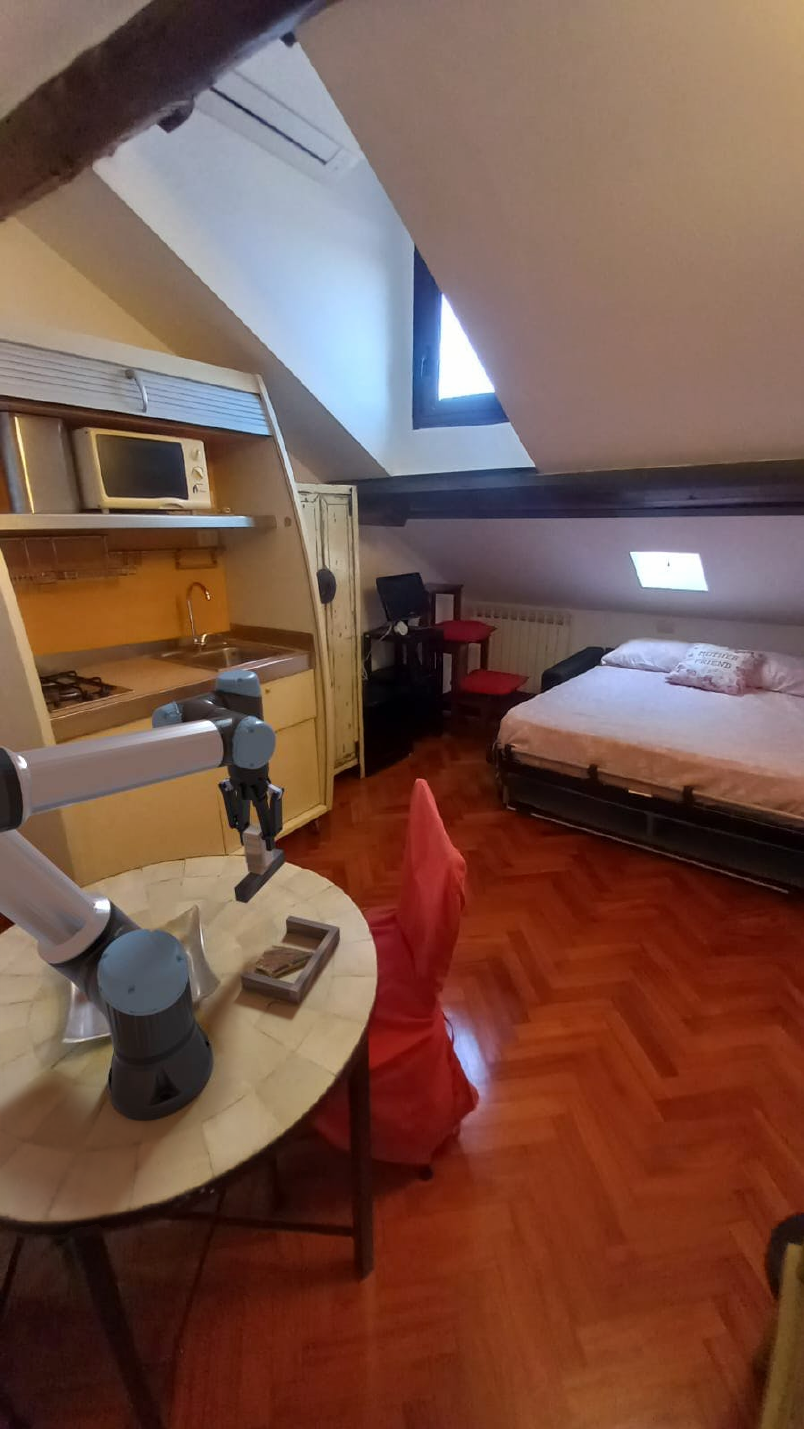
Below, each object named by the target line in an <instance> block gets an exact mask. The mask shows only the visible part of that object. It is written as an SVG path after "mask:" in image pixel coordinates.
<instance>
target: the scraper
mask: <svg viewBox="0 0 804 1429" xmlns="http://www.w3.org/2000/svg"><path fill="white" fill-rule="evenodd" d="M243 835H244V843H245V851H246V858H247V863H246V864H247V871H248V873H247V874H246V875H245V876H244V877H243V878H242V879H241V881H239V882H238V883H237V884H236V886H234V887H233V889H234V895H235V901H236V902H239V903H240V902H241V903H244V904H248V903H249V901H251V900H252V899H253V897H254V896H255V895H257V893H258V892H259V891H260V890H261V889H262V888H263V886H265V885H266V883H268V882H269V881H270V879H272V877H273V876H274V875H275V874H276V873H277V872H278V871H279V870H280V869H281V868H282V867H283V865H285V863H286V862H285V851H284V849H277V848H274V849H273V857H274V860H273V861H272V862H271V863H270V864H269V865H268V866H267V867H263V861H262V852H261V844H260V837H261V836H262V835H263V834H262V830H261V827H260V823H256V822H255V823H254V822H253V823H252V824H251V825H250V826H249V827H248V828H247V829H246V830H245V831H244V832H243ZM245 851H244V852H245ZM246 858H245V859H246Z"/></svg>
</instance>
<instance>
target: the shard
mask: <svg viewBox="0 0 804 1429" xmlns="http://www.w3.org/2000/svg"><path fill="white" fill-rule="evenodd" d="M314 953H315V951H306V950H304V949H303V950H302V949H298V948H293V947H288V946H282V945H273V944H271V945H270V946H268V947H267V948H266V949H265V950H264V952H263V953H262V954H261V956H260V957H259V959H258V960H257V961H256V962H255V964H254V969H255V970H256V969H257V970H260V971H261V970H262V971H264V972H265V974H267V975H268V977H271V978H275V979H276V977H277V976H280V975H281V974H283V973H285V972H288V971H290V970H294V969H296V968H300V967H302V966H304V965H307V963H308V962H309V960H310V959H311V957H312V956H313V954H314Z"/></svg>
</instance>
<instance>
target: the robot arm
mask: <svg viewBox="0 0 804 1429" xmlns="http://www.w3.org/2000/svg"><path fill="white" fill-rule="evenodd" d="M214 687H215V689H213V690H210V691H208V692H205V693H201V694H198V695H195V696H191V697H188V698H185V699H181V700H178V701H172V702H171V703H168V704H165V705H163V706H160V707H158V708H156V709H155V710H154V712H153V713H152V716H151V727H152V728H147V729H143V730H135V731H131V732H126V733H119V734H114V735H108V736H102V737H95V738H92V739H85V740H79V741H73V742H67V743H63V744H57V745H52V746H46V747H40V748H34V749H29V750H22V751H17V752H15V751H12V750H11V749H9V748H7V747H5V746H3V745H0V913H1V914H2V915H3V916H5V917H6V918H7V919H9V920H10V921H12V922H13V923H14V924H16V926H18V927H19V928H20V929H21V930H24V931H25V932H26V933H27V934H28V935H30V936H31V937H32V938H34V939H35V940H37V945H36V946H37V953H38V956H39V957H40V959H42V960H43V961H44V962H45V963H47V964H48V965H49V966H51V967H52V968H53V969H55V970H56V971H58V972H59V974H61V975H63V976H64V977H65V978H67V979H68V980H69V981H70V982H72V983H73V984H74V986H76V987H77V989H79V991H81V992H82V993H83V994H84V996H86V998H87V999H88V1000H89V1002H91V1003H92V1004H93V1006H95V1008H97V1009H98V1010H99V1012H100V1013H101V1014H102V1015H103V1016H104V1018H105V1020H106V1022H107V1024H108V1030H109V1034H110V1037H111V1038H110V1039H111V1043H112V1048H113V1052H112V1056H111V1062H110V1068H109V1071H108V1075H107V1076H108V1077H107V1091H108V1093H109V1097H110V1102H111V1105H112V1106H113V1108H114V1109H115V1110H116V1112H118V1113H119V1114H120V1115H121V1116H123V1117H125V1118H128V1119H131V1120H135V1121H151V1120H156V1119H161V1118H164V1117H167V1116H169V1115H171V1114H174V1113H175V1112H177V1111H179V1110H181V1109H182V1108H184V1107H185V1106H187V1105H188V1104H189V1103H191V1102H192V1101H193V1100H194V1099H195V1098H196V1097H197V1096H198V1095H199V1094H200V1093H201V1092H202V1090H203V1089H204V1088H205V1086H206V1084H207V1083H208V1081H209V1079H210V1076H211V1074H212V1071H213V1065H214V1057H213V1056H214V1055H213V1048H212V1045H211V1041H210V1039H209V1037H208V1036H207V1033H205V1031H204V1029H203V1028H202V1027H201V1025H200V1024H199V1023H198V1021H197V1020H196V1016H195V1008H194V1003H193V995H192V993H193V992H192V989H191V988H192V987H191V981H190V968H189V967H190V966H189V960H188V958H187V956H186V953H185V950H184V947H183V945H182V943H181V942H180V940H179V939H178V938H177V937H176V936H175V935H173V934H172V933H170V932H169V931H166V930H163V929H158V928H155V929H153V931H151V929H150V928H142V927H140V926H139V925H138V924H137V923H136V922H135V921H133V920H132V919H131V918H130V917H129V916H128V915H127V914H126V913H125V912H124V911H123V910H122V909H120V908H119V907H118V906H117V905H116V904H115V903H114V902H112V901H111V900H110V899H109V897H107V896H106V895H104V894H102V893H100V892H88V893H87V892H85V891H84V890H83V889H82V888H81V887H80V886H79V885H77V883H75V881H73V880H72V879H71V877H69V876H67V875H66V874H65V873H64V872H63V871H62V870H61V869H60V868H59V867H58V866H56V865H55V864H54V863H53V862H52V861H51V860H50V859H48V857H47V856H45V855H44V854H43V853H42V852H41V851H40V850H39V849H37V848H36V847H35V846H34V845H33V844H32V843H31V842H30V841H29V840H27V838H25V836H23V835H22V834H21V833H20V832H19V831H18V830H16V829H20V828H22V827H23V825H24V824H25V822H26V821H27V820H28V818H29V817H31V816H36V815H39V814H43V813H46V812H50V811H54V810H58V809H62V808H66V807H69V806H74V805H78V804H82V803H85V802H89V801H90V802H91V801H93V800H97V799H103V798H105V797H109V796H113V795H117V794H122V793H125V792H129V791H133V790H136V789H141V788H145V787H148V786H149V787H150V786H152V785H157V784H160V783H164V782H168V781H171V780H175V779H180V778H184V777H188V776H191V775H195V774H200V773H203V772H207V771H211V770H215V769H219V768H223V767H224V768H225V767H226V768H227V774H228V776H229V777H226V778H224V780H223V779H222V781H220V782H219V783H218V784H217V786H218V788H219V790H220V793H221V795H222V798H223V803H224V807H225V813H226V817H227V822H228V827H229V828H230V829H232V830H233V829H234V830H235V829H236V830H237V832H238V833H239V834H238V835H239V840H240V845H241V846H242V847H243V850H244V857H245V863H246V864H247V858H246V851H245V843H244V835H243V832H244V831H245V830H246V829H247V828H249V827H250V826H251V825H252V824H253V823H251V804H252V807H253V808H255V811H256V815H257V819H258V822H259V823H258V824H260V827H261V830H262V834H263V835H262V836H261V837H260V844H261V852H262V861H263V867H267V866H268V865H269V864H270V863H271V862H272V861H273V860H274V857H273V849H276V841H275V837H277V836H278V835H279V834H280V833H281V832H282V831H283V830H284V828H283V826H284V825H283V796H284V793H285V788H284V787H283V786H279V787H277V786H275V785H274V784H272V780H271V779H270V776H269V772H270V764H269V763H270V762H269V761H270V760H271V759H272V757H273V755H274V753H275V750H276V748H277V747H276V743H277V741H276V740H277V737H276V736H277V735H276V733H275V731H274V730H275V729H273V727H272V725H270V724H268V723H267V722H265V719H264V707H263V706H264V705H263V693H262V689H261V682H260V680H259V676H258V674H257V673H256V672H253V671H250V670H247V669H234V670H228V671H224V672H222V673H220V674H219V675H217V676H216V677H215V686H214ZM268 800H269V802H268Z"/></svg>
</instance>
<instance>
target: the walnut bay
mask: <svg viewBox="0 0 804 1429" xmlns="http://www.w3.org/2000/svg"><path fill="white" fill-rule="evenodd" d="M285 927H286V932H287V933H290V934H295V935H297V936H303V937H307V938H311V939H315V940H319V941H321V943H320V944H319V945H318V947H317V948H316V950H315V951H314V954H313V956H312V957H311V959H310V960H309V962H308V963H307V964H305V966H304V968H303V969H302V971H301V972H300V973H299V975H298V976H297V978H296V979H295V981H294V982H289V981H286V980H282V979H279V978H276V977H275V978H271V977H270V976H269V975H268V976H267V975H264V974H260V973H256V972H253V971H248V970H244V971H243V973H242V974H241V975H240V981H241V982H240V983H241V990H244V991H246V992H247V991H248V992H251V993H255V994H258V995H262V996H265V997H269V998H272V999H276V1000H279V1001H283V1002H286V1003H290V1004H293V1005H297V1006H299V1004H300V1003H301V1002H302V999H304V997H305V995H306V993H307V992H308V990H309V989H310V987H311V986H312V984H313V982H314V980H315V979H316V978H317V977H318V975H319V973H320V971H321V970H322V968H324V965H325V963H326V962H327V961H328V959H329V957H330V956H331V954H332V953H333V951H334V949H335V948H336V947H337V945H338V943H339V942H340V940H341V932H340V931H341V930H340V927H339V926H335V925H332V924H328V923H323V922H320V921H315V920H310V919H306V918H302V917H297V916H293V915H288V917H286V919H285Z"/></svg>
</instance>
